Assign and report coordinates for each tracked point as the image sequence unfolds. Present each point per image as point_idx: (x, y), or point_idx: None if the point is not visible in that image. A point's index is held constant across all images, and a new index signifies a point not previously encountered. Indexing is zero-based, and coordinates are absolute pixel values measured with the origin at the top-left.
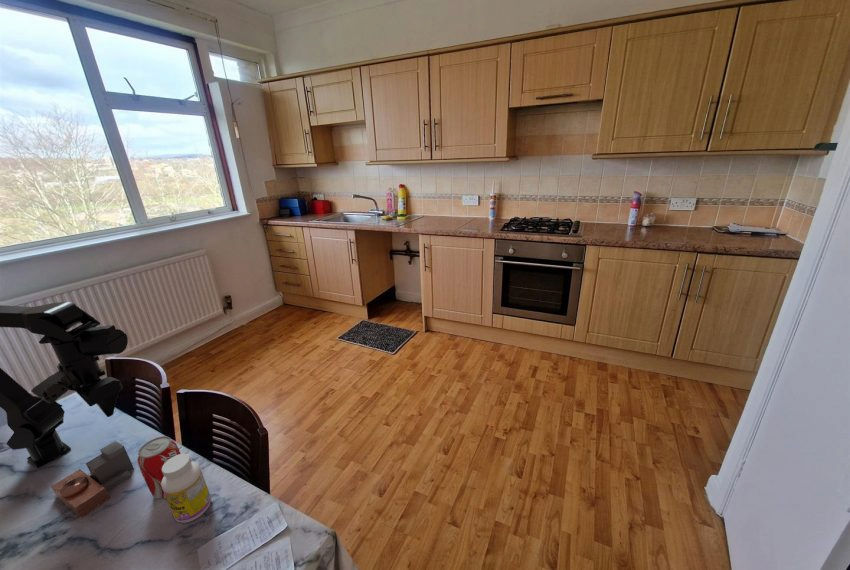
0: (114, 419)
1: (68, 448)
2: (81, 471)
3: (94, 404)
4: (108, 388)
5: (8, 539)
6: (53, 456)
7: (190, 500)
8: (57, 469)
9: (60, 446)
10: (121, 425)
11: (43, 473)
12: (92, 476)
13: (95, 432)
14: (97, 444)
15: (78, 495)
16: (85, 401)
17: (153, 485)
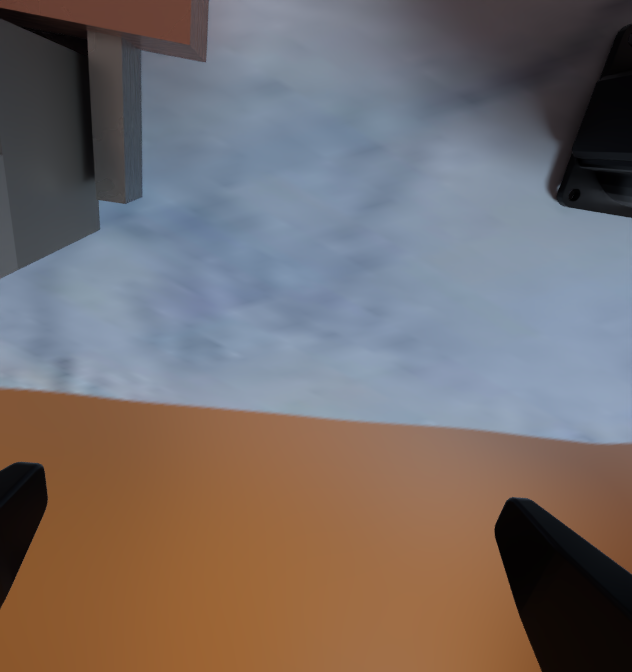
0: (530, 413)
1: (573, 199)
2: (144, 30)
3: (498, 525)
4: None
5: None
6: (592, 113)
7: None
8: (476, 62)
9: (619, 179)
10: (447, 399)
11: (537, 7)
12: (60, 46)
13: (543, 328)
14: (436, 275)
15: None
16: (586, 562)
17: None
